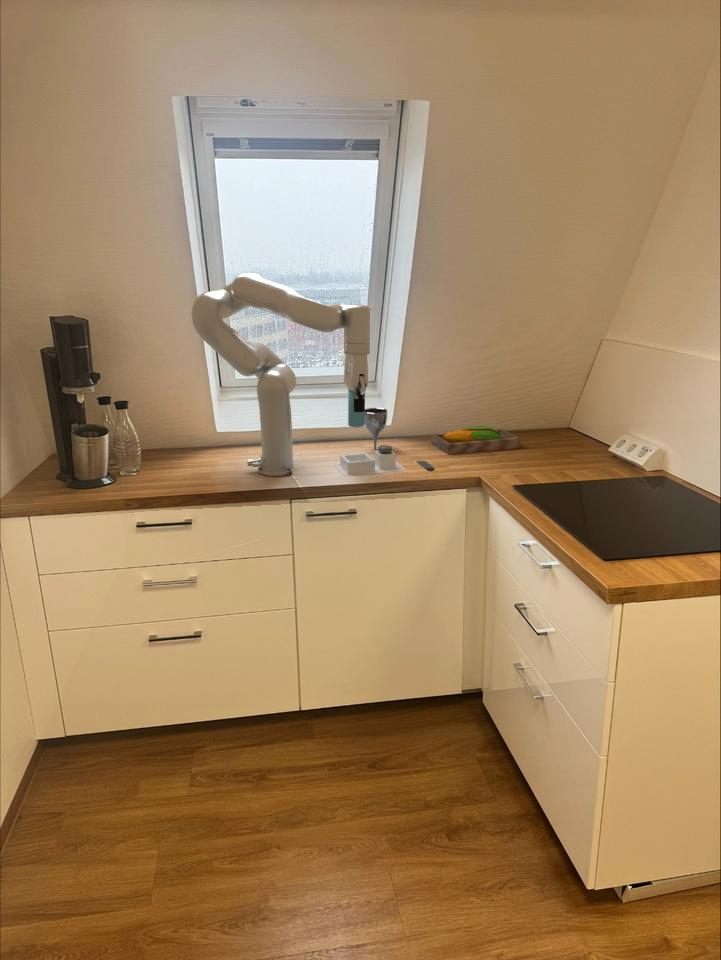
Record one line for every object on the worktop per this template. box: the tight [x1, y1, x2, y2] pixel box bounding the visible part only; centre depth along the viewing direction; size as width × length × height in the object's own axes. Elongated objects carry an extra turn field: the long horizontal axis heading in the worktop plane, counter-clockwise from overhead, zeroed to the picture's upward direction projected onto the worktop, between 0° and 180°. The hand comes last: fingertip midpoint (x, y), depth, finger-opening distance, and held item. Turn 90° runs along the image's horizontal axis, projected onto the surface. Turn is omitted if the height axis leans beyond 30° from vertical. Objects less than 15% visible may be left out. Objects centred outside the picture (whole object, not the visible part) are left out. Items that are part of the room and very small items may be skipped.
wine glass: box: [365, 407, 388, 451], centre depth 225 cm, size 8×8×15 cm
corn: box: [443, 425, 501, 443], centre depth 235 cm, size 7×8×20 cm
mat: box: [414, 460, 435, 471], centre depth 212 cm, size 8×8×1 cm
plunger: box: [377, 444, 393, 454], centre depth 208 cm, size 4×4×6 cm
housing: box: [333, 450, 407, 477], centre depth 207 cm, size 20×12×6 cm, turn 107°
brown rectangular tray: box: [431, 428, 522, 455], centre depth 236 cm, size 27×14×4 cm, turn 107°
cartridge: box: [347, 386, 366, 428], centre depth 200 cm, size 5×5×12 cm
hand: (356, 409), depth 201 cm, fingers closed on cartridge, 5 cm apart
